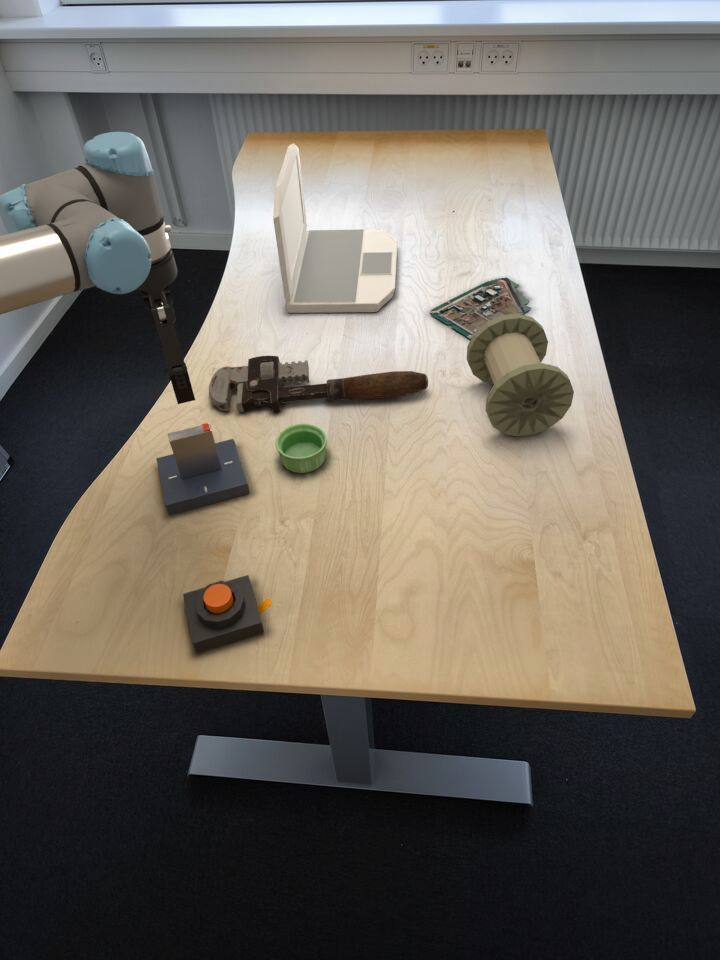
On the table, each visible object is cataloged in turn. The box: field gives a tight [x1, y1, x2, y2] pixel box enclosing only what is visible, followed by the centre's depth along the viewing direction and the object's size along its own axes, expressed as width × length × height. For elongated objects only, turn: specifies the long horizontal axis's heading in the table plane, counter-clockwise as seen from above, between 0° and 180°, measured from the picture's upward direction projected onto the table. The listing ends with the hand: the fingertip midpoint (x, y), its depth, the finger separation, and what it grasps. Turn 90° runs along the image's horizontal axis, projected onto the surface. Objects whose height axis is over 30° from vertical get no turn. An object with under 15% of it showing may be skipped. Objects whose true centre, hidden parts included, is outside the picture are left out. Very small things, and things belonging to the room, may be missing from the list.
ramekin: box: [275, 423, 328, 474], centre depth 130 cm, size 9×9×4 cm
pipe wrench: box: [208, 355, 429, 413], centre depth 143 cm, size 43×13×5 cm, turn 93°
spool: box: [466, 313, 575, 438], centre depth 133 cm, size 16×15×15 cm
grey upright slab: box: [167, 422, 222, 479], centre depth 124 cm, size 7×2×9 cm, turn 108°
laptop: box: [272, 143, 398, 314], centre depth 165 cm, size 33×24×26 cm
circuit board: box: [429, 276, 532, 340], centre depth 161 cm, size 23×15×1 cm, turn 128°
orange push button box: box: [182, 574, 265, 654], centre depth 107 cm, size 10×9×4 cm
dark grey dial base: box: [156, 438, 251, 516], centre depth 128 cm, size 14×12×3 cm
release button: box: [204, 584, 233, 614], centre depth 105 cm, size 4×4×2 cm
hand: (179, 375), depth 117 cm, fingers open, 13 cm apart
